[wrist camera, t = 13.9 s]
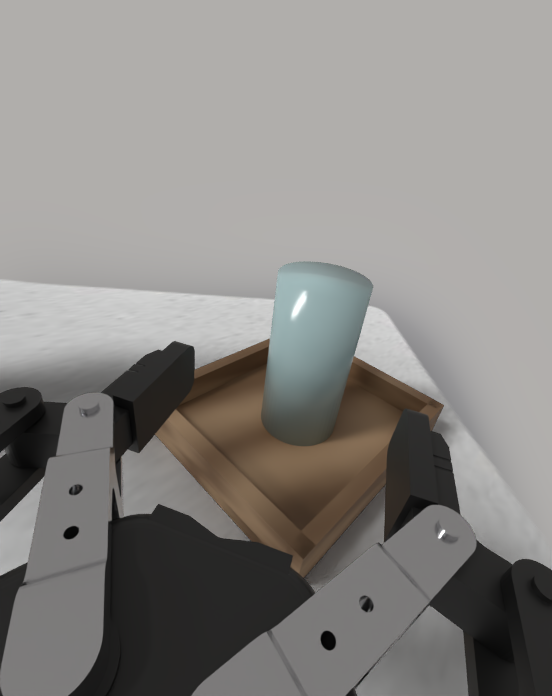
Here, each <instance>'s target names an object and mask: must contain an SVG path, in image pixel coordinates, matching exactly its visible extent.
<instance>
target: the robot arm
mask: <svg viewBox="0 0 552 696" xmlns="http://www.w3.org/2000/svg"><path fill="white" fill-rule="evenodd" d="M194 363H195V351H194V347H193V346H190V345H186V344H183V343H179V342H176V341H174V342H172V343H171V344H170V345H168V346H167V347H166V348H165V349H164V350H163V351H161V350H156V351H154V352H152V353H149V354H147V355H145V356H144V357H143V358H141V359H140V360H139V361H138V362H137V363H136V365H135V364H134V365H133V366H132V367H131V368H130V369H129V371H126V372H125V373H124V374H122V375H121V376H120V377H119V378H118V379H117V380H115V381H114V382H113V383H112V384H111V385H109V386H108V387H107V388H106V389H105V390H103V391H102V392H101V393H96V392H94V393H86V394H82V395H80V396H77V397H75V398H74V399H72V400H71V401H70V402H68V403H55V402H43V399H42V396H41V393H40V392H39V391H38V390H36V389H34V388H28V387H21V388H14V389H10V390H7V391H4V392H2V393H0V452H1V451H2V450H3V449H5V451H6V454H5V455H4V456H3V457H1V458H0V521H1V520H2V519H3V518H4V517H5V516H6V515H7V514H8V513H9V512H10V511H11V510H12V509H13V508H14V507H15V506H16V505H17V504H18V503H19V502H20V501H21V500H22V499H23V498H24V497H25V496H26V495H27V494H28V493H29V492H30V490H31V489H32V488H33V487H34V486H35V485H36V484H37V483H38V482H39V481H40V480H41V479H42V478H43V477H44V476H45V477H44V482H43V487H42V492H41V497H40V502H39V508H38V513H37V518H36V523H35V528H34V533H33V539H32V544H31V549H30V554H29V559H28V562H27V563H25V564H23V565H21V566H19V567H17V568H15V569H13V570H11V571H9V572H7V573H5V574H3V575H1V576H0V696H357V694H356V691H355V689H356V688H357V687H358V686H359V685H360V683H361V682H362V681H363V680H364V679H365V678H366V677H367V676H368V674H369V673H370V672H371V671H372V670H373V669H374V668H375V666H376V665H377V664H378V663H379V662H380V661H381V659H382V658H383V657H384V656H385V655H386V654H387V652H388V651H389V650H390V649H391V648H392V647H393V646H394V644H395V643H396V642H397V641H398V640H399V639H400V638H401V637H402V635H403V634H404V633H405V632H406V631H407V630H408V629H409V627H410V626H411V625H412V624H413V623H414V622H415V621H416V620H417V618H418V617H419V616H420V615H421V614H422V613H423V612H424V610H425V609H426V608H427V607H428V606H429V605H430V606H432V607H433V608H434V609H436V610H437V611H438V612H440V613H441V614H442V615H444V616H445V617H446V618H448V619H449V620H450V621H452V622H453V623H454V624H456V625H457V626H458V627H460V628H461V629H462V630H463V632H464V644H465V656H466V669H467V681H468V693H469V696H552V570H550V569H549V568H548V567H546V566H544V565H543V564H541V563H538V562H536V561H533V560H529V559H521V560H518V561H516V562H515V563H514V564H511V563H509V562H508V561H506V560H505V559H503V558H502V557H500V556H498V555H497V554H495V553H494V552H492V551H490V550H489V549H487V548H486V547H484V546H483V545H482V544H481V543H479V542H478V541H477V540H476V537H475V534H474V532H473V530H472V528H471V526H470V525H469V523H468V522H467V521H466V520H465V519H464V518H463V517H462V516H461V515H460V509H459V503H458V498H457V492H456V486H455V480H454V474H453V473H452V472H453V468H452V463H451V457H450V451H449V447H448V445H447V443H446V442H445V440H444V439H443V437H442V436H441V434H439V433H435V432H432V431H430V424H429V416H428V415H427V414H423V413H420V412H416V411H413V410H410V409H404V411H403V413H402V415H401V417H400V419H399V421H398V424H397V426H396V428H395V430H394V433H393V435H392V437H391V440H390V443H389V446H388V451H387V465H386V496H385V526H384V542H385V543H384V544H382V545H381V544H380V543H377V544H375V545H373V546H372V547H371V548H369V549H368V550H367V551H366V552H365V553H363V554H362V555H361V556H360V557H359V558H357V559H356V560H355V561H354V562H353V563H351V564H350V565H349V566H348V567H347V568H345V569H344V570H343V571H342V572H341V573H339V574H338V575H337V576H336V577H335V578H333V579H332V580H331V581H330V582H329V583H327V584H326V585H325V586H324V587H323V588H321V589H320V590H319V591H318V592H317V593H315V592H314V590H313V589H312V587H311V586H310V585H309V584H308V583H307V581H306V580H305V579H304V578H303V577H302V576H301V575H300V574H299V573H298V572H296V571H295V570H294V569H292V568H291V567H290V566H291V562H292V558H293V555H290V554H288V553H285V552H282V551H280V550H277V549H275V548H272V547H269V546H267V545H264V544H262V543H259V542H251V541H242V540H232V539H223V538H219V537H217V536H215V535H214V534H213V533H211V532H210V531H209V530H208V529H206V528H205V527H204V526H202V525H201V524H200V523H198V522H197V521H196V520H194V519H193V518H192V517H190V516H188V515H186V514H183V513H180V512H178V511H175V510H173V509H170V508H167V507H165V506H162V505H160V504H158V505H157V506H156V508H155V510H154V511H153V513H152V514H136V515H130V516H126V517H124V513H123V472H122V455H123V454H124V453H125V452H126V450H127V449H129V450H131V451H134V452H137V453H140V452H141V450H142V449H143V448H144V447H145V446H146V444H147V443H148V442H149V441H150V439H151V438H152V437H153V436H154V435H155V433H156V432H157V431H158V430H159V429H160V427H161V426H162V425H163V424H164V423H165V421H166V420H167V419H168V418H169V417H170V415H171V414H172V413H173V412H174V411H175V409H176V408H177V407H178V406H179V405H180V403H181V402H182V401H183V400H184V399H185V397H186V396H187V395H188V394H189V392H190V391H191V389H192V386H193V383H194Z"/></svg>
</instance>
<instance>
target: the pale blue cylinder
mask: <svg viewBox="0 0 552 696" xmlns="http://www.w3.org/2000/svg"><path fill="white" fill-rule="evenodd" d="M372 289H373V285H372V283H371V281H370V280H369V279H368V278H366V277H365V276H364V275H362V274H360V273H358V272H355V271H353V270H351V269H348V268H345V267H342V266H338V265H333V264H328V263H321V262H295V263H290V264H286V265H284V266H282V267H281V268H280V269H279V270H278V277H277V286H276V294H275V302H274V311H273V319H272V327H271V335H270V344H269V352H268V360H267V368H266V377H265V385H264V393H263V401H262V410H261V420H262V423H263V426H264V427H265V429H266V430H267V431H268V432H269V433H270V434H271V435H272V436H273V437H275V438H276V439H278V440H280V441H282V442H284V443H287V444H290V445H295V446H312V445H317V444H320V443H322V442H324V441H325V440H327V439H328V438H329V437H330V435H331V434H332V432H333V430H334V426H335V423H336V419H337V415H338V412H339V408H340V405H341V401H342V397H343V394H344V390H345V387H346V383H347V379H348V376H349V372H350V369H351V365H352V361H353V358H354V354H355V351H356V347H357V343H358V340H359V336H360V333H361V329H362V325H363V322H364V318H365V314H366V311H367V307H368V304H369V300H370V296H371V293H372Z"/></svg>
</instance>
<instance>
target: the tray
mask: <svg viewBox="0 0 552 696" xmlns="http://www.w3.org/2000/svg"><path fill="white" fill-rule="evenodd" d="M269 344H270V339H268V340H265V341H263V342H260V343H258V344H256V345H253V346H251V347H248V348H246V349H244V350H241V351H239V352H236V353H234V354H232V355H229V356H227V357H224V358H222V359H220V360H217V361H215V362H212V363H210V364H208V365H205V366H203V367H200V368H198V369H195V370H194V383H193V386H192V389H191V391H190V392H189V394H188V395H187V396H186V397H185V399H184V400H183V401H182V402H181V403H180V405H179V406H178V407H177V408H176V409H175V411H174V412H173V413H172V414H171V415H170V417H169V418H168V419H167V420H166V421H165V423H164V424H163V425H162V426H161V427H160V429H159V430H158V431H157V432H156V433H155V435H156V436H157V437H158V438H159V439H160V440H161V441H162V443H163V444H164V445H165V446H166V447H167V448H168V449H169V450H170V451H171V453H172V454H173V455H174V456H175V457H176V458H177V459H178V460H179V461H180V462H181V464H182V465H183V466H184V467H185V468H186V469H187V470H188V471H189V472H190V474H191V475H192V476H193V477H194V478H195V479H196V480H197V481H198V482H199V484H200V485H201V486H202V487H203V488H204V489H205V490H206V491H207V492H208V494H209V495H210V496H211V497H212V498H213V499H214V500H215V501H216V502H217V503H218V505H219V506H220V507H221V508H222V509H223V510H224V511H225V512H226V513H227V515H228V516H229V517H230V518H231V519H232V520H233V521H234V522H235V523H236V525H237V526H238V527H239V528H240V529H241V530H242V531H243V532H244V533H245V535H246V536H247V537H248V538H249V539H250V540H251V541H252V542H259V543H262V544H264V545H267V546H269V547H272V548H275V549H277V550H280V551H282V552H285V553H288V554H290V555H293V558H292V562H291V566H290V567H291V568H292V569H294V570H295V571H296V572H298V573H299V574H300V575H301V576H302V577H303V578H304V577H305V576H306V575H307V574H308V573H309V572H310V571H311V569H312V568H313V567H314V566H315V565H316V564H317V562H318V561H319V560H320V559H321V558H322V557H323V556H324V554H325V553H326V552H327V551H328V550H329V549H330V548H331V546H332V545H333V544H334V543H335V542H336V541H337V539H338V538H339V537H340V536H341V535H342V534H343V533H344V531H345V530H346V529H347V528H348V527H349V526H350V525H351V523H352V522H353V521H354V520H355V519H356V518H357V516H358V515H359V514H360V513H361V512H362V511H363V510H364V508H365V507H366V506H367V505H368V504H369V503H370V502H371V500H372V499H373V498H374V497H375V496H376V495H377V493H378V492H379V491H380V490H381V489H382V488H383V487H384V485H385V484H386V465H387V451H388V446H389V443H390V440H391V437H392V435H393V433H394V430H395V428H396V426H397V424H398V421H399V419H400V417H401V415H402V413H403V411H404V409H410V410H413V411H416V412H420V413H423V414H427V415H428V416H429V424H430V431H432V429H433V427H434V425H435V423H436V421H437V419H438V417H439V415H440V413H441V411H442V409H443V407H444V405H443V404H441V403H439V402H437V401H435V400H434V399H432V398H430V397H428V396H426V395H424V394H423V393H421V392H419V391H417V390H415V389H413V388H412V387H410V386H408V385H406V384H404V383H402V382H400V381H399V380H397V379H395V378H393V377H391V376H389V375H388V374H386V373H384V372H382V371H380V370H378V369H377V368H375V367H373V366H371V365H369V364H367V363H365V362H364V361H362V360H360V359H358V358H356V357H354V358H353V361H352V365H351V369H350V372H349V376H348V379H347V383H346V387H345V390H344V394H343V397H342V401H341V405H340V408H339V412H338V415H337V419H336V423H335V426H334V430H333V432H332V434H331V435H330V437H329V438H328V439H327V440H325V441H324V442H322V443H320V444H317V445H312V446H295V445H290V444H287V443H284V442H282V441H280V440H278V439H276V438H275V437H273V436H272V435H271V434H270V433H269V432H268V431H267V430H266V429H265V427H264V426H263V423H262V420H261V410H262V401H263V393H264V385H265V377H266V368H267V360H268V352H269Z"/></svg>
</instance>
